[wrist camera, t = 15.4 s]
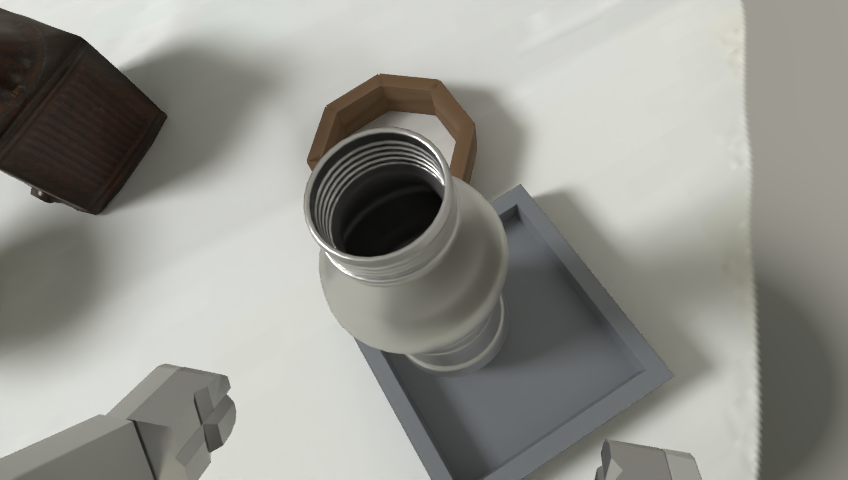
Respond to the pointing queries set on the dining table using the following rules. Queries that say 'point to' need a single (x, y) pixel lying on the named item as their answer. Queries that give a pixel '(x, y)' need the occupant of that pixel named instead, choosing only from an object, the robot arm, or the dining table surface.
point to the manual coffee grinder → (68, 116)
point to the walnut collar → (400, 97)
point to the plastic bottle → (409, 252)
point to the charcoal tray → (526, 365)
